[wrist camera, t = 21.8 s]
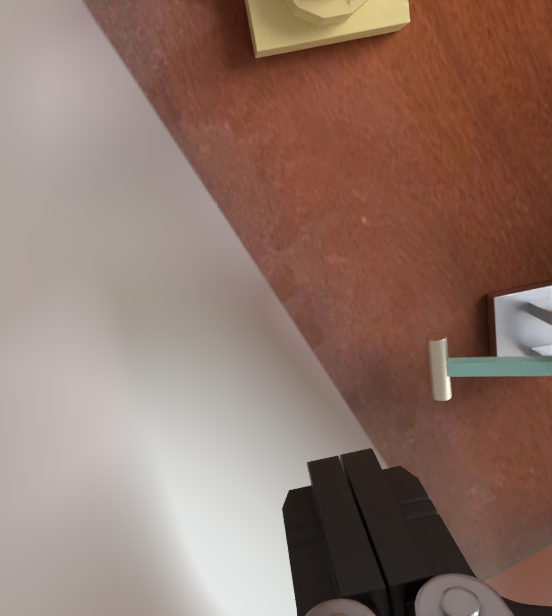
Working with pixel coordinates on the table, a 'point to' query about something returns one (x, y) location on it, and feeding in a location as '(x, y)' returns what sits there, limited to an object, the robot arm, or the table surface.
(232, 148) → the table surface
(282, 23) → the button block
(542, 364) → the teal lever handle
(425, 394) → the table surface
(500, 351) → the grey metal bracket
